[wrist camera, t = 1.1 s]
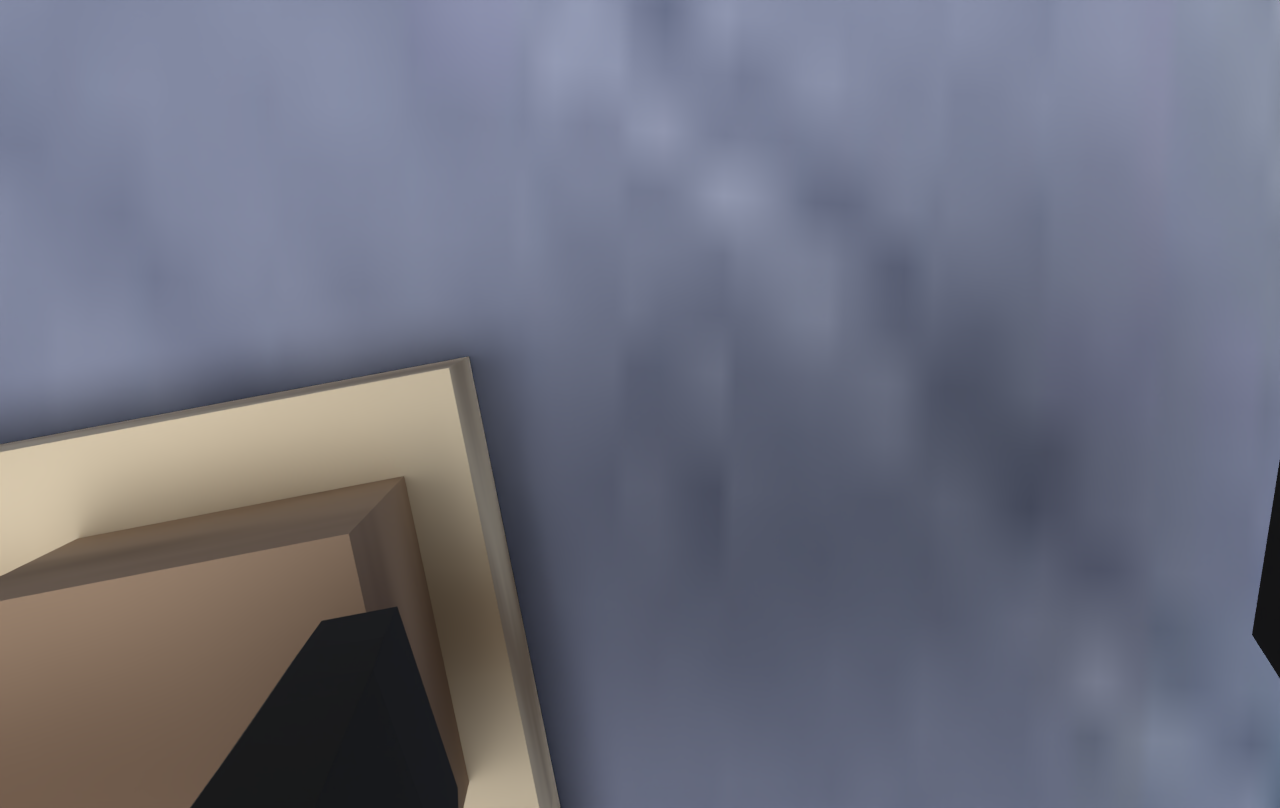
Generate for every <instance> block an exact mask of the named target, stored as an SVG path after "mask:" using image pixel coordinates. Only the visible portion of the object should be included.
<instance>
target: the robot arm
mask: <svg viewBox="0 0 1280 808" xmlns="http://www.w3.org/2000/svg"><path fill="white" fill-rule="evenodd" d="M1252 635H1253V637H1254V639H1255V640H1256V642H1257V643H1258V645H1259V646H1260V648H1261V649H1262V651H1263V653H1264V654H1265V656H1266V657H1267V659H1268V660H1269V662H1270V664H1271V665H1272V667H1273V668H1274V670H1275V671H1276V673H1277V675H1278V676H1279V678H1280V462H1279V468H1278V475H1277V481H1276V487H1275V494H1274V500H1273V506H1272V513H1271V519H1270V525H1269V532H1268V538H1267V544H1266V550H1265V557H1264V563H1263V569H1262V576H1261V582H1260V588H1259V595H1258V601H1257V607H1256V614H1255V620H1254V626H1253V632H1252ZM190 808H458V787H457V784H456V781H455V778H454V775H453V772H452V769H451V766H450V763H449V760H448V757H447V754H446V751H445V748H444V745H443V742H442V739H441V736H440V733H439V730H438V727H437V724H436V721H435V718H434V715H433V712H432V709H431V706H430V703H429V700H428V697H427V694H426V691H425V688H424V685H423V682H422V679H421V676H420V673H419V670H418V667H417V664H416V661H415V658H414V655H413V652H412V649H411V646H410V643H409V640H408V637H407V634H406V631H405V628H404V625H403V622H402V619H401V616H400V613H399V610H398V607H392V608H386V609H381V610H376V611H370V612H365V613H360V614H354V615H349V616H344V617H339V618H333V619H328V620H323V621H321V622H320V624H319V625H318V626H317V628H316V629H315V630H314V632H313V633H312V635H311V636H310V637H309V639H308V640H307V642H306V643H305V644H304V646H303V647H302V648H301V650H300V651H299V653H298V654H297V655H296V657H295V658H294V660H293V661H292V663H291V664H290V665H289V667H288V668H287V670H286V671H285V673H284V674H283V676H282V677H281V679H280V680H279V681H278V683H277V684H276V686H275V687H274V689H273V690H272V692H271V693H270V695H269V696H268V697H267V699H266V700H265V702H264V703H263V705H262V706H261V708H260V709H259V711H258V712H257V713H256V715H255V716H254V718H253V719H252V721H251V722H250V724H249V725H248V727H247V728H246V729H245V731H244V732H243V734H242V735H241V737H240V738H239V740H238V741H237V742H236V744H235V745H234V747H233V748H232V750H231V751H230V752H229V754H228V755H227V757H226V758H225V760H224V761H223V763H222V764H221V765H220V767H219V768H218V770H217V771H216V772H215V774H214V775H213V776H212V778H211V779H210V781H209V782H208V783H207V785H206V786H205V788H204V789H203V790H202V792H201V793H200V794H199V796H198V797H197V799H196V800H195V801H194V803H193V804H192V806H191V807H190Z"/></svg>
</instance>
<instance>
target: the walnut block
mask: <svg viewBox="0 0 1280 808" xmlns="http://www.w3.org/2000/svg"><path fill="white" fill-rule="evenodd" d="M392 607H398V610H399V613H400V616H401V619H402V622H403V625H404V628H405V631H406V634H407V637H408V640H409V643H410V646H411V649H412V652H413V655H414V658H415V661H416V664H417V667H418V670H419V673H420V676H421V679H422V682H423V685H424V688H425V691H426V694H427V697H428V700H429V703H430V706H431V709H432V712H433V715H434V718H435V721H436V724H437V727H438V730H439V733H440V736H441V739H442V742H443V745H444V748H445V751H446V754H447V757H448V760H449V763H450V766H451V769H452V772H453V775H454V778H455V781H456V784H457V787H458V808H464V803H465V799H466V794H467V790H468V785H469V779H468V774H467V769H466V764H465V760H464V755H463V750H462V746H461V741H460V736H459V732H458V727H457V722H456V717H455V713H454V708H453V703H452V699H451V694H450V689H449V685H448V680H447V675H446V670H445V666H444V661H443V656H442V652H441V647H440V642H439V637H438V633H437V628H436V623H435V619H434V614H433V609H432V605H431V600H430V595H429V590H428V586H427V581H426V576H425V572H424V567H423V562H422V558H421V553H420V548H419V543H418V539H417V534H416V529H415V525H414V520H413V515H412V511H411V506H410V501H409V496H408V492H407V487H406V482H405V478H404V476H401V477H396V478H391V479H386V480H380V481H375V482H370V483H365V484H360V485H354V486H349V487H344V488H339V489H333V490H328V491H323V492H318V493H313V494H307V495H302V496H297V497H292V498H286V499H281V500H276V501H271V502H266V503H260V504H255V505H250V506H245V507H239V508H234V509H229V510H224V511H219V512H213V513H208V514H203V515H198V516H192V517H187V518H182V519H177V520H171V521H166V522H161V523H156V524H151V525H145V526H140V527H135V528H130V529H124V530H119V531H114V532H109V533H104V534H98V535H93V536H88V537H83V538H78V539H76V540H74V541H71V542H69V543H67V544H65V545H63V546H61V547H59V548H57V549H55V550H53V551H51V552H49V553H47V554H45V555H43V556H41V557H39V558H37V559H35V560H33V561H31V562H28V563H26V564H24V565H22V566H20V567H18V568H16V569H14V570H12V571H10V572H8V573H6V574H4V575H2V576H0V808H190V807H191V806H192V804H193V803H194V801H195V800H196V799H197V797H198V796H199V794H200V793H201V792H202V790H203V789H204V788H205V786H206V785H207V783H208V782H209V781H210V779H211V778H212V776H213V775H214V774H215V772H216V771H217V770H218V768H219V767H220V765H221V764H222V763H223V761H224V760H225V758H226V757H227V755H228V754H229V752H230V751H231V750H232V748H233V747H234V745H235V744H236V742H237V741H238V740H239V738H240V737H241V735H242V734H243V732H244V731H245V729H246V728H247V727H248V725H249V724H250V722H251V721H252V719H253V718H254V716H255V715H256V713H257V712H258V711H259V709H260V708H261V706H262V705H263V703H264V702H265V700H266V699H267V697H268V696H269V695H270V693H271V692H272V690H273V689H274V687H275V686H276V684H277V683H278V681H279V680H280V679H281V677H282V676H283V674H284V673H285V671H286V670H287V668H288V667H289V665H290V664H291V663H292V661H293V660H294V658H295V657H296V655H297V654H298V653H299V651H300V650H301V648H302V647H303V646H304V644H305V643H306V642H307V640H308V639H309V637H310V636H311V635H312V633H313V632H314V630H315V629H316V628H317V626H318V625H319V624H320V622H321V621H323V620H328V619H333V618H339V617H344V616H349V615H354V614H360V613H365V612H370V611H376V610H381V609H386V608H392Z"/></svg>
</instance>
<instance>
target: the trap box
mask: <svg viewBox="0 0 1280 808" xmlns="http://www.w3.org/2000/svg"><path fill="white" fill-rule="evenodd" d="M401 476H404V478H405V482H406V487H407V492H408V496H409V501H410V506H411V511H412V515H413V520H414V525H415V529H416V534H417V539H418V543H419V548H420V553H421V558H422V562H423V567H424V572H425V576H426V581H427V586H428V590H429V595H430V600H431V605H432V609H433V614H434V619H435V623H436V628H437V633H438V637H439V642H440V647H441V652H442V656H443V661H444V666H445V670H446V675H447V680H448V685H449V689H450V694H451V699H452V703H453V708H454V713H455V717H456V722H457V727H458V732H459V736H460V741H461V746H462V750H463V755H464V760H465V764H466V769H467V774H468V779H469V785H468V790H467V794H466V799H465V803H464V808H561V807H560V802H559V797H558V792H557V788H556V783H555V778H554V773H553V768H552V763H551V758H550V753H549V748H548V743H547V738H546V733H545V728H544V724H543V719H542V714H541V709H540V704H539V699H538V694H537V689H536V684H535V679H534V674H533V669H532V665H531V660H530V655H529V650H528V645H527V640H526V635H525V630H524V625H523V620H522V615H521V610H520V605H519V601H518V596H517V591H516V586H515V581H514V576H513V571H512V566H511V561H510V556H509V551H508V546H507V541H506V537H505V532H504V527H503V522H502V517H501V512H500V507H499V502H498V497H497V492H496V487H495V482H494V478H493V473H492V468H491V463H490V458H489V453H488V448H487V443H486V438H485V433H484V428H483V423H482V418H481V414H480V409H479V404H478V399H477V394H476V389H475V384H474V379H473V374H472V369H471V364H470V359H469V357H463V358H458V359H453V360H447V361H442V362H437V363H431V364H426V365H421V366H415V367H410V368H405V369H399V370H394V371H389V372H383V373H378V374H373V375H367V376H362V377H357V378H351V379H346V380H341V381H336V382H330V383H325V384H320V385H314V386H309V387H304V388H298V389H293V390H288V391H282V392H277V393H272V394H266V395H261V396H256V397H250V398H245V399H240V400H234V401H229V402H224V403H218V404H213V405H208V406H202V407H197V408H192V409H186V410H181V411H176V412H170V413H165V414H160V415H154V416H149V417H144V418H138V419H133V420H128V421H122V422H117V423H112V424H106V425H101V426H96V427H90V428H85V429H80V430H75V431H69V432H64V433H59V434H53V435H48V436H43V437H37V438H32V439H27V440H21V441H16V442H11V443H5V444H0V576H2V575H4V574H6V573H8V572H10V571H12V570H14V569H16V568H18V567H20V566H22V565H24V564H26V563H28V562H31V561H33V560H35V559H37V558H39V557H41V556H43V555H45V554H47V553H49V552H51V551H53V550H55V549H57V548H59V547H61V546H63V545H65V544H67V543H69V542H71V541H74V540H76V539H78V538H83V537H88V536H93V535H98V534H104V533H109V532H114V531H119V530H124V529H130V528H135V527H140V526H145V525H151V524H156V523H161V522H166V521H171V520H177V519H182V518H187V517H192V516H198V515H203V514H208V513H213V512H219V511H224V510H229V509H234V508H239V507H245V506H250V505H255V504H260V503H266V502H271V501H276V500H281V499H286V498H292V497H297V496H302V495H307V494H313V493H318V492H323V491H328V490H333V489H339V488H344V487H349V486H354V485H360V484H365V483H370V482H375V481H380V480H386V479H391V478H396V477H401Z"/></svg>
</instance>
